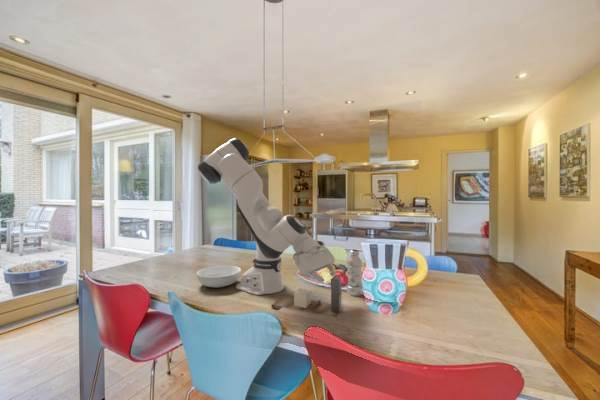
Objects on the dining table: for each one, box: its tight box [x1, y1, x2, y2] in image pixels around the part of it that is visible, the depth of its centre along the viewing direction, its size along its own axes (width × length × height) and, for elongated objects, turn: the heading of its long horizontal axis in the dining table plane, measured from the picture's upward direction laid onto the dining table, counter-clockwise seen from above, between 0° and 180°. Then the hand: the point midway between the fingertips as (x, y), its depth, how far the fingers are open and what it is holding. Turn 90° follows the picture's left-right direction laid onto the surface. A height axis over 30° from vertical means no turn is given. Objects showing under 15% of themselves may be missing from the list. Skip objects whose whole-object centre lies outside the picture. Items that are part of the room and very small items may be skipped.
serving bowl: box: [196, 265, 242, 289], centre depth 128 cm, size 21×21×7 cm
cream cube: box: [293, 288, 312, 308], centre depth 101 cm, size 5×5×5 cm
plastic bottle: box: [346, 249, 363, 297], centre depth 113 cm, size 6×7×20 cm
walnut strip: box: [271, 276, 345, 318], centre depth 100 cm, size 26×10×13 cm, turn 66°
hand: (328, 278), depth 99 cm, fingers open, 8 cm apart
